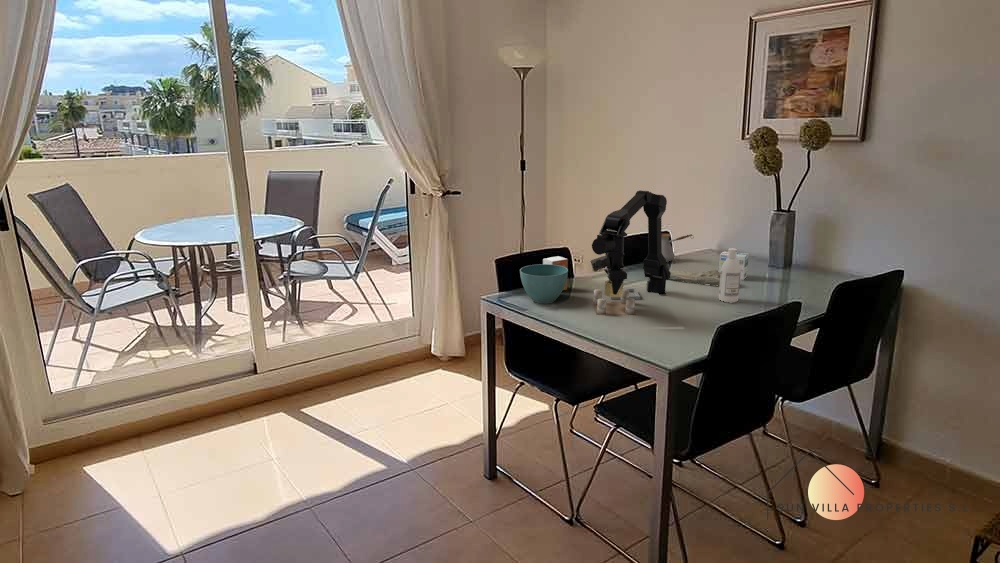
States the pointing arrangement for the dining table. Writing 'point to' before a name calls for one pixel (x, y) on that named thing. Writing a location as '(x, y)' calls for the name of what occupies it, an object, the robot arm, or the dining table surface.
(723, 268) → the bath foam
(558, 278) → the teal bowl
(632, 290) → the tray
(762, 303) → the dining table surface
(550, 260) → the small box
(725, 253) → the light bulb box
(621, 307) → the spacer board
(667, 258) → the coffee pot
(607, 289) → the nut
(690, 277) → the elongated rock
